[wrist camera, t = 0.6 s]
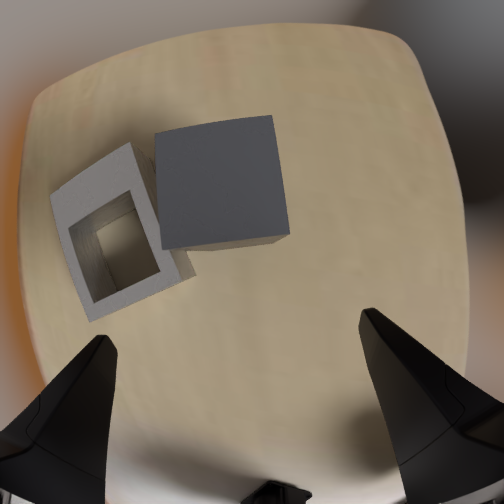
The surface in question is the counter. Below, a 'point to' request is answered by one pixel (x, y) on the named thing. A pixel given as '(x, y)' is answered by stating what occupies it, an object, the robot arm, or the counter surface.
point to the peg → (220, 186)
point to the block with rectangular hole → (104, 212)
